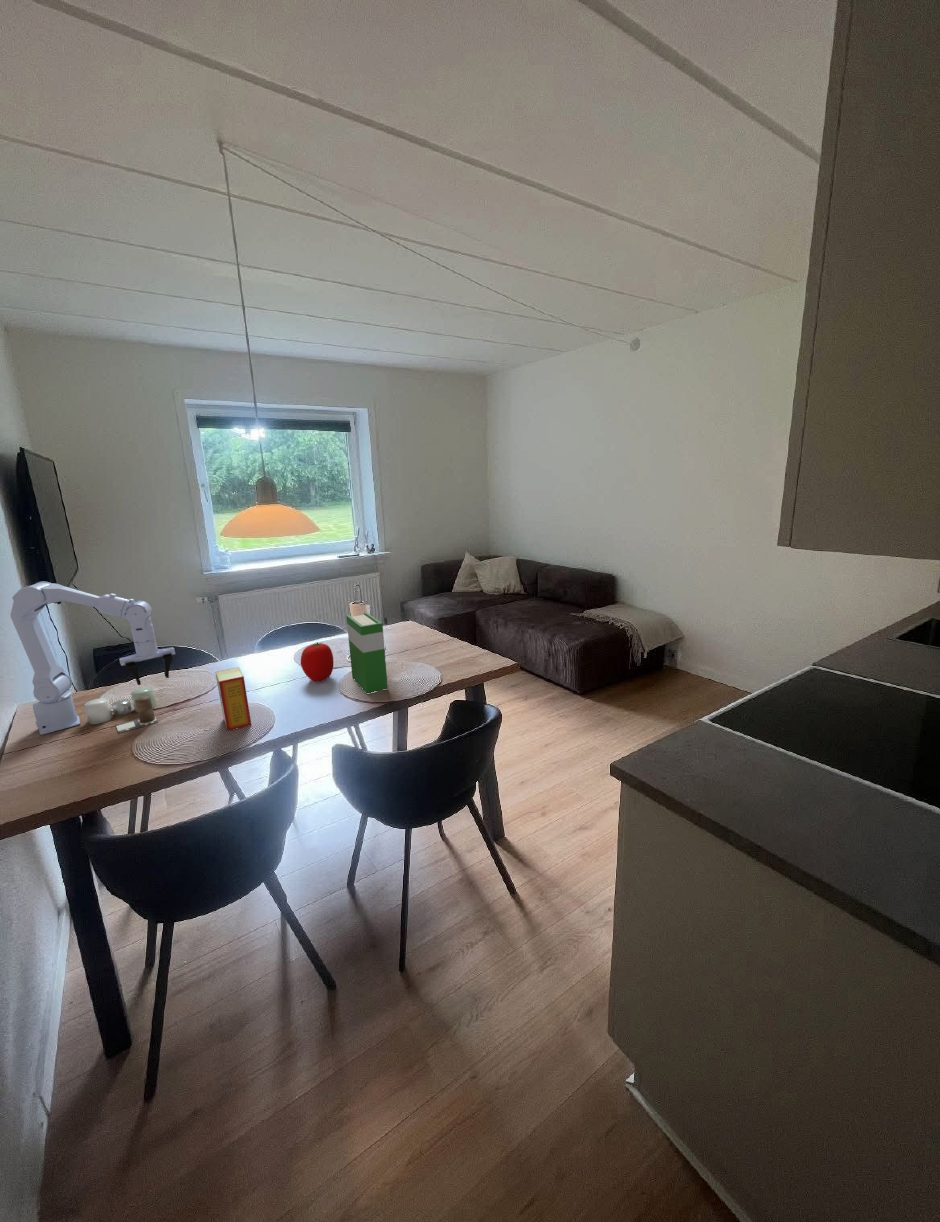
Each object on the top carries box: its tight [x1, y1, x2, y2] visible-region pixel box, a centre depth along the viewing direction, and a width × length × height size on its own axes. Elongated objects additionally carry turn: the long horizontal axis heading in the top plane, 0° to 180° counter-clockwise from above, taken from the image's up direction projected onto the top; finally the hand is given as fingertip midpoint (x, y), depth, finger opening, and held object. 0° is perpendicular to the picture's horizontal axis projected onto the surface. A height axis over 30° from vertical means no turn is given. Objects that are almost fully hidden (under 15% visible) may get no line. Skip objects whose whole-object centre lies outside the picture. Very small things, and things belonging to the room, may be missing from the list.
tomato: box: [300, 642, 334, 683], centre depth 178 cm, size 13×11×14 cm
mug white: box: [84, 697, 113, 725], centre depth 153 cm, size 6×8×6 cm
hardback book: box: [345, 611, 389, 694], centre depth 171 cm, size 18×7×24 cm, turn 29°
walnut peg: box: [135, 696, 156, 723], centre depth 150 cm, size 4×4×7 cm
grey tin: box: [111, 699, 133, 717], centre depth 157 cm, size 5×5×4 cm
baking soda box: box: [214, 666, 252, 732], centre depth 146 cm, size 10×6×16 cm
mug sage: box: [130, 686, 157, 713], centre depth 160 cm, size 6×8×6 cm
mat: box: [115, 716, 159, 734], centre depth 149 cm, size 10×7×1 cm
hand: (153, 680), depth 155 cm, fingers open, 7 cm apart
